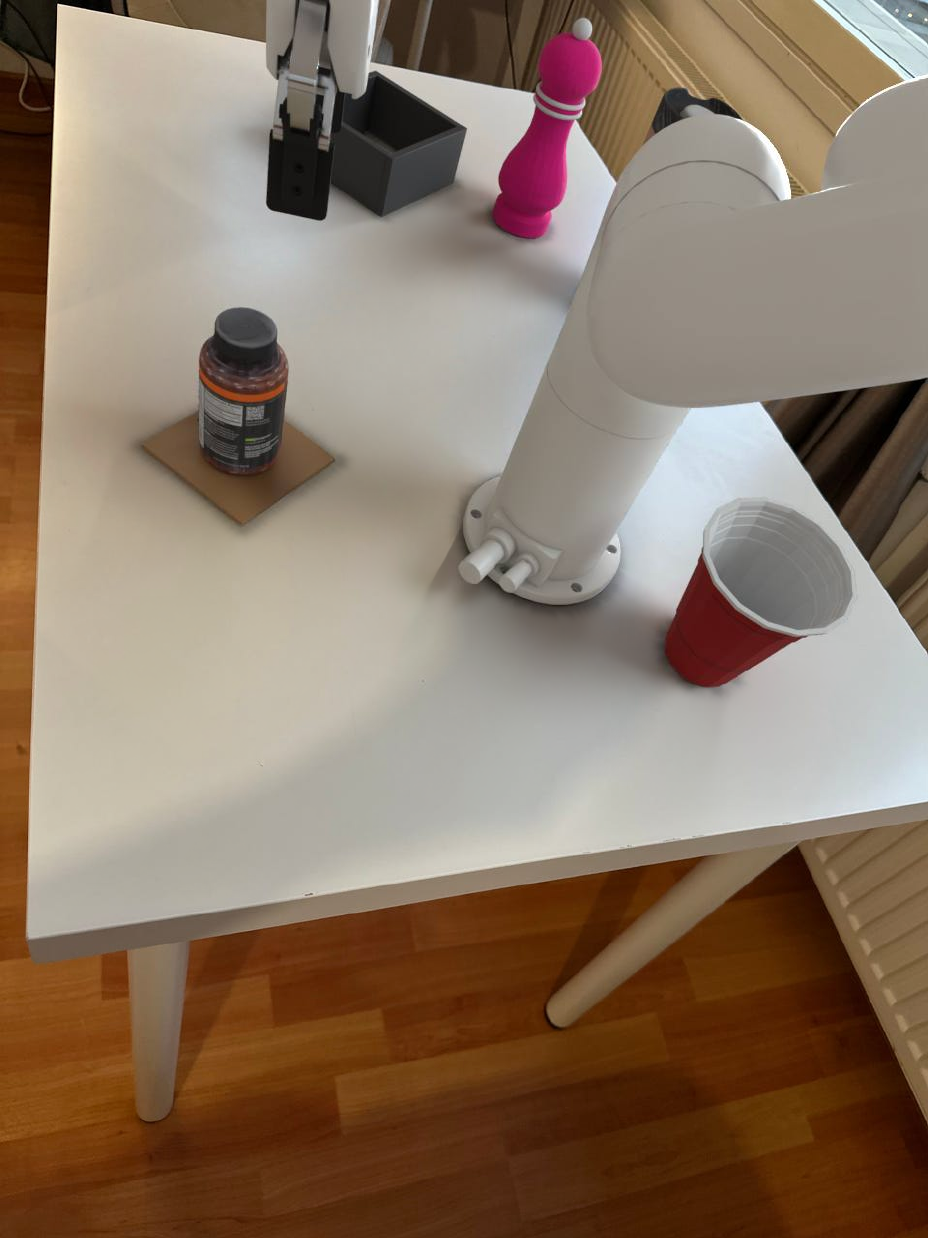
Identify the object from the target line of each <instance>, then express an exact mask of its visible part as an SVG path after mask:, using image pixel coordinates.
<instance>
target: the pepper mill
mask: <svg viewBox="0 0 928 1238" xmlns="http://www.w3.org/2000/svg"><path fill="white" fill-rule="evenodd" d="M592 33H593V25H592V23H591V21H590V20H589V19H588V18H586V17H580V18H578V19H577V20H576V21H575V22H574V23H573V26H572V32H561V33H559V34H556V35H555V36H552V37H551V38H550V39H549V40H548V41H547V42H546V43H545V44H544V46H543V48H542V51H541V52H540V55H539V60H538V65H537V67H538V68H537V70H538V74H539V77H540V81H538V83H537V84H536V88H535V90H536V91H535V93H533V97H532V100H533V104H534V105H535V107H534V112H533V115H532V118H531V121H530V125H529V126H528V127H527V130H526V131H525V132H524V135H523V136H522V137H521V138H520V140H519V141H518V142H517V143H516V144H515V146H514V147H513V148H512V149H511V150H510V151H509V152H508V154H507V156H506V157H505V159H504V161H503V162H502V165H501V167H500V170H499V172H498V176H497V177H498V178H497V182H498V186H499V190H500V193H498V195H497V197H496V198H495V202H494V206H493V209H492V217H493V220H494V222H496V224H497V225H498V226H499V227H500V228H501V229H502V230H504V231H506V232H507V233H509V234H511V235H514V236H516V237H520V238H523V239H537V238H541V237H543V236H544V235H545V234H547V231H548V229H549V226H550V224H551V221H552V217H553V214H552V211H553V210H555V209H556V208H558V207H559V206H560V204H561V203H563V200H564V197H565V195H566V191H567V188H568V187H567V185H568V163H567V147H568V140H569V137H570V133H571V131H572V127H573V125H574V124H575V121H576V120H578V119H580V118H581V117H582V115H583V109H584V107H585V106H586V98H585V97H587V96H588V95H590V94H591V93H592V92H593V91H594V90H595V89H596V88H597V86H598V84H599V81H600V79H601V75H602V70H603V69H602V67H603V62H602V55H601V54H600V53H601V52H600V51H599V48H598V47H597V46H596V44H595V43H594V42H593V41H591V39H589V38H590V37H591V35H592Z"/></svg>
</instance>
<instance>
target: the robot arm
mask: <svg viewBox="0 0 928 1238" xmlns="http://www.w3.org/2000/svg"><path fill="white" fill-rule="evenodd" d="M265 4H266V5H265V6H266V7H265V64H266V65H265V66H266V69H267V70H268V72H269V74H270V75H271V76H272V77H273V78H274V79H275V81H277V89H276V99H275V106H274V107H275V108H274V116H273V124H272V125H273V126H272V128H270V130H269V138H268V156H267V157H268V158H267V174H266V177H267V178H266V196H265V205H266V207H267V208H268V209H269V210H270V211H273V212H276V213H280V214H281V213H282V214H284V215H285V214H286V215H291V216H293V217H299V218H303V219H304V218H305V219H308V220H313V221H318V222H322V221H324V220H325V219H326V218H327V216H328V209H329V201H330V191H331V184H332V183H331V174H332V165H333V156H334V147H335V143H330V136H331V132H332V133H338V132H339V131H340V130H341V125H342V117H343V109H344V100H345V93H350V94H352V99H357V98H359V97H360V96H362V95H363V94H364V93H365V91H366V87H367V81H368V74H369V73H370V67H371V61H372V54H373V46H374V39H375V34H376V27H377V19H378V12H379V4H380V0H266V2H265ZM642 145H643V144H642ZM642 145H641V147H640V148H639V149H638V150H637V151H636V152H635V153H634V155H633V156H632V158H631V159H630V160H629V161H628V163H627V164H626V166H625V168H624V169H623V170H622V172H621V174H620V176H619V178H618V180H617V182H616V184H615V186H614V188H613V190H612V193H611V195H610V198H609V200H608V203H607V206H606V209H605V211H604V214H603V216H602V219H601V222H600V224H599V227H598V231H597V234H596V237H595V240H594V243H593V245H592V248H591V250H590V253H589V256H588V259H587V261H586V263H585V266H584V269H583V272H582V274H581V278H580V280H579V283H578V285H577V288H576V291H575V293H574V296H573V297H572V298H573V299H572V301H571V303H570V307H569V309H568V311H567V314H566V315H565V319H564V321H563V324H562V327H561V328H560V331H559V333H558V336H557V338H556V341H555V343H554V345H553V349H552V350H551V353H550V355H549V358H548V360H547V363H546V364H545V366H544V367H545V368H544V370H543V373H542V375H541V377H540V380H539V383H538V385H537V387H536V390H535V392H534V394H533V396H532V399H531V402H530V404H529V407H528V409H527V412H526V414H525V417H524V419H523V421H522V424H521V426H520V429H519V431H518V434H517V436H516V439H515V442H514V443H513V445H512V446H513V447H512V449H511V451H510V453H509V456H508V458H507V461H506V463H505V466H504V468H503V470H502V473H501V475H498V476H495V477H492V478H491V479H489V480H486V481H485V482H484V483H482V484H481V485H479V487H478V488H477V489H475V491H474V492H473V494H472V496H471V497H470V498H469V500H468V503H467V506H466V508H465V510H464V513H463V520H462V533H463V534H462V535H463V537H464V542H465V545H466V547H467V549H468V551H469V554H468V555H467V556H466V557H465V558H463V560H461V561H460V562H459V564H458V567H457V568H458V573H459V574H460V576H461V578H462V579H463V580H464V581H465V582H466V583H469V584H471V585H478V584H479V583H480V582H481V581H482V580H483V579H484V578H485V577H486V576H488V577H489V578H490V579H491V580H492V581H493V582H494V583H496V584H497V585H499V586H500V588H501V589H502V590H503V592H506V593H509V594H514V595H516V596H518V597H520V598H523V599H526V600H529V601H532V602H535V603H540V604H546V605H551V606H552V605H553V606H554V605H555V606H556V605H560V606H563V605H564V606H568V605H573V604H578V603H579V604H580V603H581V602H582V603H583V602H585V601H589V600H590V599H593V598H594V597H596V596H597V595H599V594H600V593H601V592H603V591H604V589H606V587H607V586H608V585H609V584H610V583H611V581H612V579H613V578H614V576H615V574H616V573H617V571H618V568H619V565H620V562H621V552H622V551H621V544H620V538H619V536H618V530H619V528H620V527H621V525H622V523H623V521H624V520H625V518H626V517H627V515H628V513H629V512H630V510H631V508H632V507H633V505H634V503H635V502H636V500H637V498H638V496H639V495H640V493H641V492H642V490H643V488H644V486H645V485H646V483H647V482H648V480H649V478H650V477H651V475H652V473H653V471H654V470H655V469H656V467H657V465H658V463H659V462H660V460H661V458H662V456H663V455H664V454H665V451H666V450H667V448H668V447H669V445H670V444H671V441H672V440H673V439H674V437H675V435H676V433H677V431H678V430H679V428H680V427H681V426H682V425H683V423H684V421H685V419H686V418H687V417H688V414H689V413H690V412H691V409H706V408H707V409H709V408H719V407H730V406H737V405H746V404H753V403H761V402H769V401H776V400H783V399H790V398H792V399H793V398H798V397H806V396H814V395H821V394H828V393H835V392H843V391H844V392H845V391H850V390H858V389H864V388H866V389H867V388H872V387H873V388H874V387H879V386H887V385H893V384H899V383H906V382H912V381H917V380H922V379H926V378H928V74H926V75H921V76H918V77H915V78H910V79H908V80H906V81H902V82H899V83H898V84H896V85H893V86H891V87H888V88H886V89H884V90H882V91H879V92H878V93H876V94H875V95H873V96H872V97H870V98H869V99H866V101H864V102H863V103H862V104H860V106H859V107H857V108H856V109H855V110H854V111H853V112H852V113H851V114H849V115H848V116H847V118H846V120H845V121H843V123H842V124H841V126H840V127H839V129H838V130H837V132H836V134H835V136H834V137H833V140H832V142H831V143H830V146H829V148H828V150H827V152H826V156H825V160H824V165H823V168H822V174H821V187H820V188H821V189H820V191H817V192H813V193H808V194H804V195H800V196H796V197H792V194H791V187H790V181H789V177H788V175H787V172H786V168H785V165H784V164H783V160H782V159H781V156H780V154H779V153H778V151H777V149H776V148H775V147H774V145H773V144H772V142H770V140H769V139H768V138H767V136H766V135H764V134H763V133H762V132H761V131H760V130H759V129H757V128H756V127H755V126H753V125H752V124H750V123H748V122H747V121H746V122H745V121H744V120H743V121H741V120H739V119H736V118H733V117H730V116H725V115H719V114H706V115H699V116H693V117H689V118H686V119H682V120H680V121H678V122H675V123H673V124H671V125H669V126H668V127H666V128H664V129H662V130H661V131H660V132H658V133H657V134H655V135H654V136H653V137H652V138H650V139H649V140H648V141H647V142H646V143H645V144H644V145H643V146H642Z"/></svg>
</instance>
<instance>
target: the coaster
mask: <svg viewBox="0 0 928 1238" xmlns="http://www.w3.org/2000/svg"><path fill="white" fill-rule="evenodd" d="M198 418H199V410H198V411H196V412H194V413H192V414H190V415H189V416H187V417H185V418H183V419H182V420H180V421H179V422H177V423H175V424H173V425H171V426H169V427H168V428H166V429H164V430H163V431H161V432H159V433H157V434H156V435H153V436H152V437H150V438H148V439H146V440H145V441H143V442H142V443H141V445H140V446H141V449H143V450H144V451H145V452H146V453H148V454H149V455H151V456H152V457H153V458H155V459H156V460H157V461H158V462H160V463H161V464H162V465H163V466H164V467H166V468H167V469H168V470H170V471H171V472H172V473H174V474H175V475H176V477H177V476H178V478H180V479H181V480H182V481H184V483H186V484H187V485H189V486H190V487H191V488H192V489H194V490H195V491H196V492H198V494H200V495H201V496H203V497H204V498H205V499H206V500H208V501H209V502H210V503H211V504H213V505H214V506H215V507H217V508H218V509H219V510H220V511H221V512H223V513H224V514H225V515H227V516H228V518H230V519H232V520H233V521H235V522H236V523H237V524H238V525H239V526H241V527H243V526H244V525H246V524H247V523H249V522H250V521H252V520H253V519H254V518H256V517H257V516H259V515H260V514H262V513H263V512H265V511H266V510H268V509H269V508H270V507H271V506H274V504H276V503H278V502H279V501H280V500H282V499H283V498H285V497H287V496H288V495H289V494H290V493H292V492H293V491H295V490H296V489H298V488H299V487H301V486H302V485H303V484H304V483H306V482H308V481H309V480H311V479H312V478H313V477H315V476H316V475H318V474H319V473H320V472H322V471H323V470H324V469H326V468H328V467H329V466H331V465H332V464H333V463H335V462H336V457H335V456H334V455H333V454H331V453H330V452H328V451H327V450H326V449H324V448H323V447H322V446H320V445H319V444H317V442H315V441H313V439H311V438H310V437H308V436H307V435H306V434H304V433H303V432H302V431H300V430H299V429H298V428H296V427H295V426H293V425H292V424H291V423H290V422H288V421H287V420H286V419H284V422H283V432H282V442H281V449H280V453H279V456H278V459H277V460H276V462H275V463H274V464H273V465H272V466H271V467H270V468H269V469H267V470H265V471H263V472H260V473H257V474H253V475H244V476H243V475H233V474H229V473H225V472H223V471H221V470H218V469H217V468H215V467H214V466H212V465H211V464H210V463H209V462H208V461H207V460H206V459H205V458H204V456H203V454H202V452H201V449H200V446H199V425H198V424H199V420H198V422H197V419H198Z"/></svg>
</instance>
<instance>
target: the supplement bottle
mask: <svg viewBox="0 0 928 1238" xmlns="http://www.w3.org/2000/svg"><path fill="white" fill-rule="evenodd" d="M198 357H199V358H198V411H199V418H198V419H197V422H198V420H199V424H198V425H199V446H200V449H201V452H202V454H203V456H204V458H205V459H206V460H207V461H208V462H209V463H210V464H211V465H212V466H214V467H215V468H217V469H218V470H221V471H223V472H225V473H229V474H233V475H243V476H244V475H253V474H257V473H260V472H263V471H265V470H267V469H269V468H270V467H271V466H272V465H273V464H274V463H275V462H276V460H277V459H278V456H279V453H280V449H281V442H282V432H283V422H284V420H285V413H286V412H285V411H286V403H287V402H286V401H287V392H288V384H289V374H290V373H289V372H290V369H289V360H288V357H287V354H286V353H285V350H284V349H283V348H282V346H281V345H280V344H279V343H278V327H277V325H276V322H275V321H274V320H273V319H272V317H270V316H269V315H267V314H266V313H264V312H262V311H260V310H257V309H255V308H252V307H246V306H245V307H243V306H239V307H238V306H237V307H232V308H228V309H225V310H223V311H222V312H220V313H219V314H218V315H217V316H216V318H215V320H214V331H213V335H212V336H210V337H208V338H207V339H206V340H205V341H204V343H203V344H202V346H201V348H200V351H199V356H198Z"/></svg>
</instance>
